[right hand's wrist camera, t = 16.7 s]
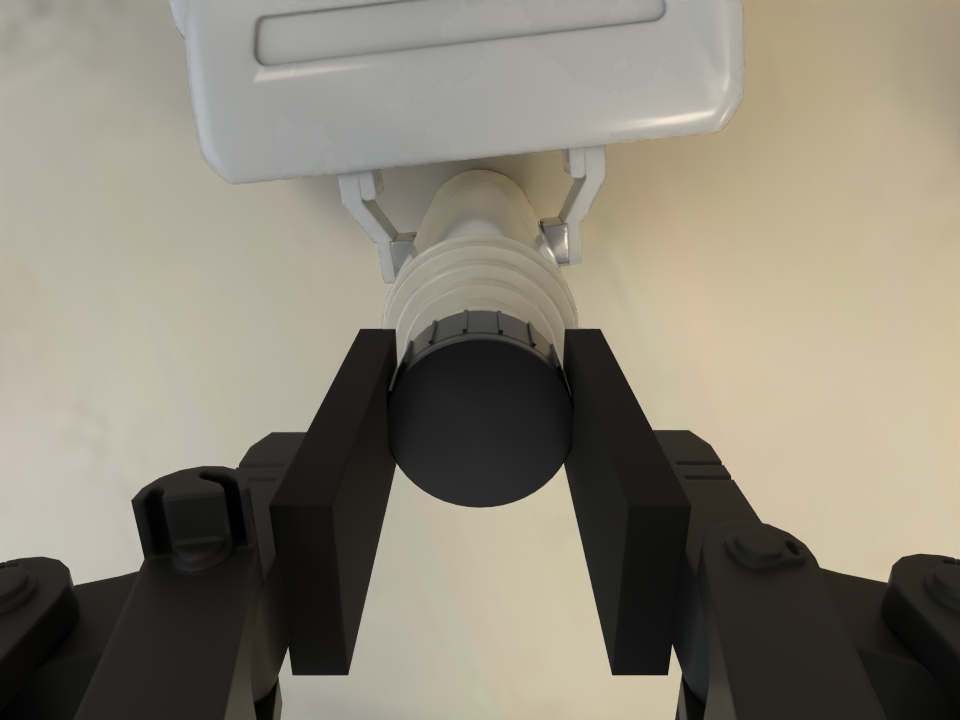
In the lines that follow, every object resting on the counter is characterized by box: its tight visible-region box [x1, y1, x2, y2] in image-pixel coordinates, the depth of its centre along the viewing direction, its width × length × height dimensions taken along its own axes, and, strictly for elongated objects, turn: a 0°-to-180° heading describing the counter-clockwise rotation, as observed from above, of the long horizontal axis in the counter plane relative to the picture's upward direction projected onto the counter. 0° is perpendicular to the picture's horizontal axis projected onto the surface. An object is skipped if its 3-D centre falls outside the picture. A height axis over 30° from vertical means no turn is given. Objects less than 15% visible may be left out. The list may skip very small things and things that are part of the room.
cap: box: [387, 309, 574, 508], centre depth 13 cm, size 4×4×2 cm
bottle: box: [382, 169, 578, 370], centre depth 23 cm, size 5×5×22 cm
